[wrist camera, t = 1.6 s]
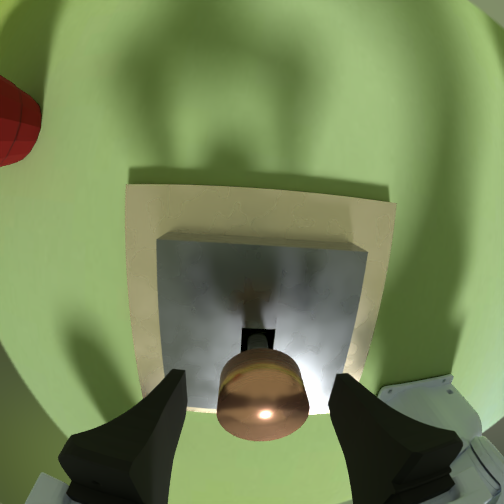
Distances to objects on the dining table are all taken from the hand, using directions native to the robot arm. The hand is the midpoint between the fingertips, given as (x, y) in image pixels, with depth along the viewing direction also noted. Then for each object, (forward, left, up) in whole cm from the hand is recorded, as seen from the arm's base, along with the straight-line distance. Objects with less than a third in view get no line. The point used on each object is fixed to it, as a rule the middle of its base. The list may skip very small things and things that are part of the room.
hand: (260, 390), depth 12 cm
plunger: (0, 0, -5) cm, 5 cm away
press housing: (0, 0, -8) cm, 8 cm away
